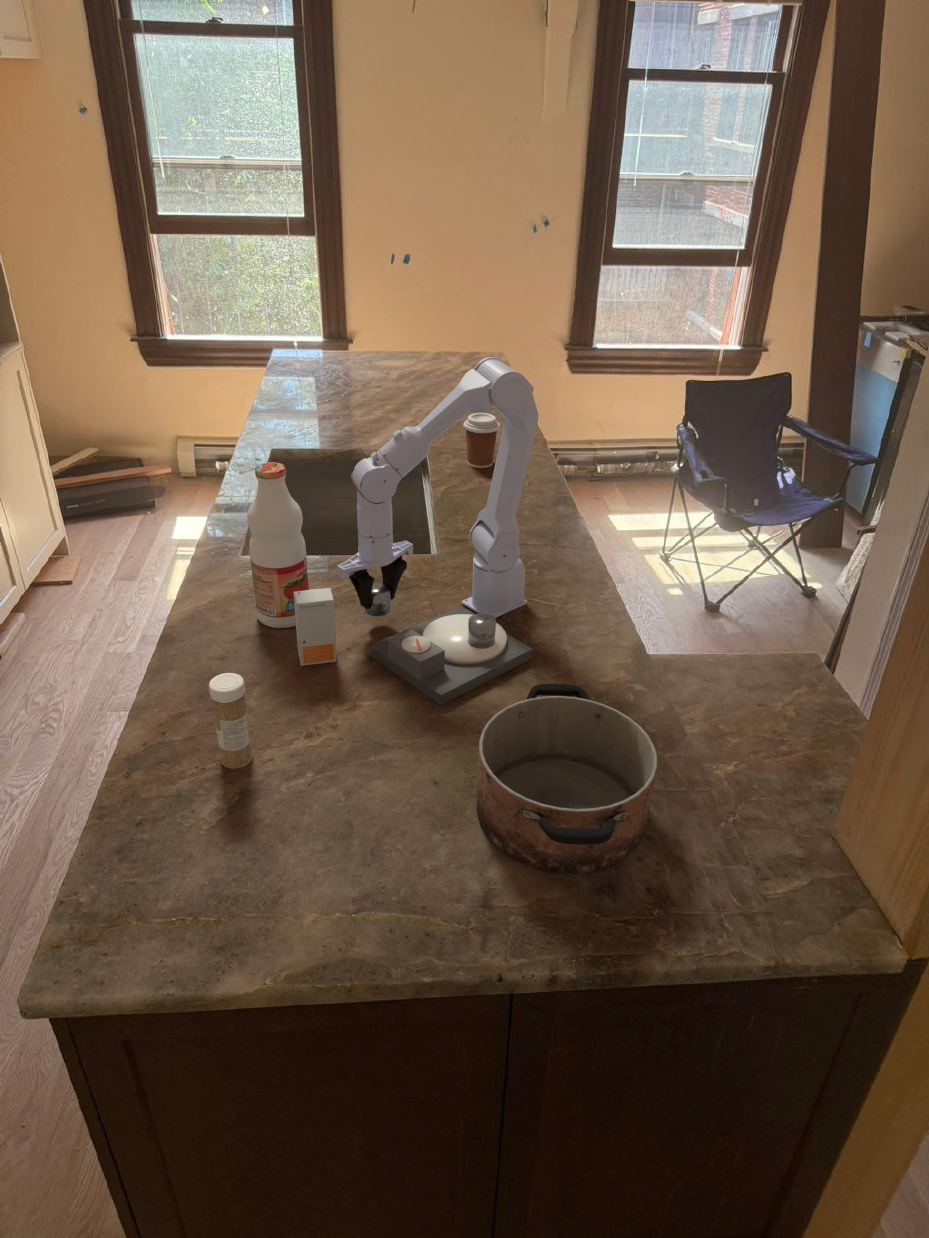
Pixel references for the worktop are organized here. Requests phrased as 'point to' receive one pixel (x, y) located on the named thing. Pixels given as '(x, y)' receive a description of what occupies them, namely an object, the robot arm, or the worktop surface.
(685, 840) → the worktop surface
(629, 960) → the worktop surface
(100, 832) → the worktop surface
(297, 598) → the skincare box
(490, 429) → the coffee cup
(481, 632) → the cylinder
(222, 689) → the sprinkles bottle
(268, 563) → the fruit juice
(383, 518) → the robot arm
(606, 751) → the cooking pot
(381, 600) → the cylinder
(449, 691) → the kitchen scale
